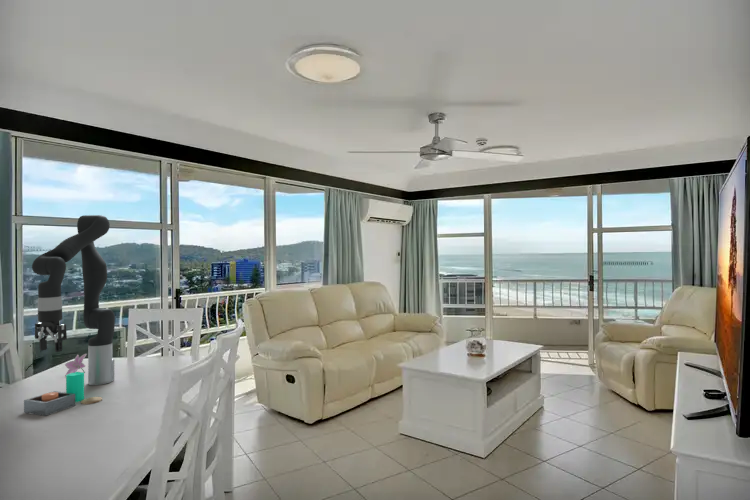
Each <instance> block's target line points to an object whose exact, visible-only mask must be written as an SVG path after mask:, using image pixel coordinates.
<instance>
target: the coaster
mask: <svg viewBox="0 0 750 500" xmlns="http://www.w3.org/2000/svg"><path fill="white" fill-rule="evenodd" d="M102 401H103V397H101V396H93V397H91V396H90V397H87V398H84V400H82V401H80V404H81V405H93V404H97V403H100V402H102Z"/></svg>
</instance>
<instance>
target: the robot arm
mask: <svg viewBox="0 0 750 500" xmlns="http://www.w3.org/2000/svg"><path fill="white" fill-rule="evenodd" d="M76 222H77V223H76V228H77V229H76V230H77V233H76V234H73V235H72V236H71V235H70V237H67V238H65V239H64V240H63V241H61V242H60V243H59V244H57V245H56V246H55V248H53V249H50V250H48V251H47V252H46V251H45V252H44V253H42V254H40V255H39V256H38V257H36V258H35V259H34V260H33V261H32V265H31V270H32V271H33V272H34V274H36V275H39V276H49V277H48V280H45V281H42V282H40V283H38V285H37V287H38V289H37V294H38V295H37V297H38V298H37V299H38V300H37V322H38V323H37V322H36V323H35V324H34V339H35V340H36V339H37V340H38V342H39V351H46V350H47V349H48V348H47V347H48V340H47V338H48V337H51V339H53V341H54V351H55V353H59V352H62V351H63V341H66V340H67V339H68V336H67V335H68V333H67V325H66V324H65V323H62V324H60V321H62V320H63V300H62V283H63V281H64V280H63V279H64V277H65V273H66V270H67V264H66V263H68V262H70V261H71V260H72V259H73V258H74V257H75V256H77V255H78V253H81V265H82V266H81V267H82V268H81V269H82V270H81V271H82V281H83V282H82V283H83V316H82V317H83V324H84V326H85V327H86V328H87V329H89V330H97V334H96V335H95V336H93V337H92V336H91V337H90V338H89V339H88V340H87V345H88V346H87V348H88V349H87V350H88V351H87V355H88V356H87V358H88V359H87V361H88V362H87V369H88V371H87V373H88V374H87V375H88V376H87V377H88V378H87V381H88V382H87V385H89V386H99V385H105V384H109V383H112V382H113V381H115V359H114V358H113V339H114V336H115V327H116V326H115V324H116V315H115V312H114V311H113V310H112V309H111V308H100V304H99V300H100V299H99V298H100V295H101V293H102V291H103V289H104V287H105V286H106V284H107V281H108V269H107V268H108V267H107V263H106V261H105V260H104V258H103V257H102V255H101V254H100V252H99V251H98V249H96V246H95V241H96V240H99V239H100V238H102V237H103V236H104V235H106V234H107V233H108V232H109V230H110V221H109V219H108V218H107V217H106V216H105V215H102V214H101V215H100V214H89V215H88V214H86V215H85V214H84V215H81V216H79V218H78V220H77V221H76Z"/></svg>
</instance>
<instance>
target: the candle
mask: <svg viewBox="0 0 750 500" xmlns="http://www.w3.org/2000/svg"><path fill="white" fill-rule="evenodd" d="M84 372H85V371H83V372H80V371H77V372H74V373H70V374H68V375H66V374H65V375H66V376H65V382H66V383H65V389H66V390H65V393H73V394H75V403H79V402H81V401H82V400H84V399H85V373H84Z"/></svg>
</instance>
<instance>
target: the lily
mask: <svg viewBox="0 0 750 500" xmlns="http://www.w3.org/2000/svg"><path fill="white" fill-rule="evenodd" d="M87 355H88V352H87V353H84V354H82V355H81V356H80V355H79V354H76V356H75V357H74V360H71V361H68V362H65V364H64V366H65V368H67V369H68V370H67V371H66V373H65V377H66V375H68V374H70V373H74V372H78V370H80V369H81V370H82V371H83V372H84V374H85V373H86V371H85V370H84V368H85V367H86V365H85V363H83V362H84V360H85V358H86V356H87Z"/></svg>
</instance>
